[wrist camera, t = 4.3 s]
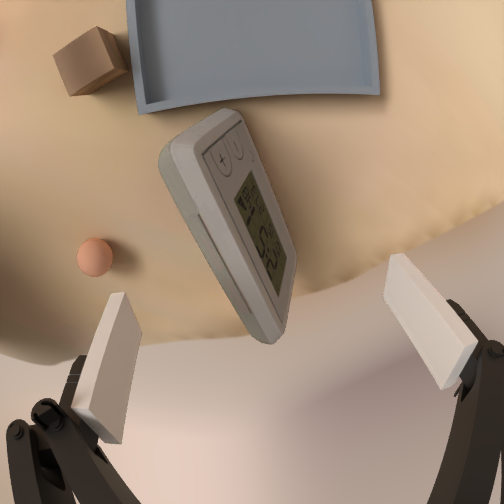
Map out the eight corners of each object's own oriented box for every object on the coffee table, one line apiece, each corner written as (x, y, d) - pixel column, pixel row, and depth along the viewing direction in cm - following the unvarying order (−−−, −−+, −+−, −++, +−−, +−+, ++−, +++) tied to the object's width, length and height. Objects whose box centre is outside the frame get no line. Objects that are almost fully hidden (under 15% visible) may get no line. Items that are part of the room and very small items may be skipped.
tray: (368, 94, 23) (379, 95, 21) (144, 113, 22) (138, 115, 20) (353, -34, 16) (363, -41, 15) (130, -24, 15) (124, -32, 14)
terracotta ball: (91, 265, 28) (79, 286, 25) (79, 235, 27) (66, 253, 23) (121, 261, 29) (112, 282, 25) (111, 229, 27) (99, 247, 24)
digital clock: (295, 263, 31) (327, 336, 22) (208, 281, 31) (209, 362, 22) (270, 98, 23) (308, 103, 14) (163, 121, 23) (129, 141, 14)
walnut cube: (89, 94, 20) (69, 96, 17) (74, 58, 18) (52, 55, 15) (129, 71, 20) (114, 68, 17) (113, 34, 18) (96, 26, 15)
